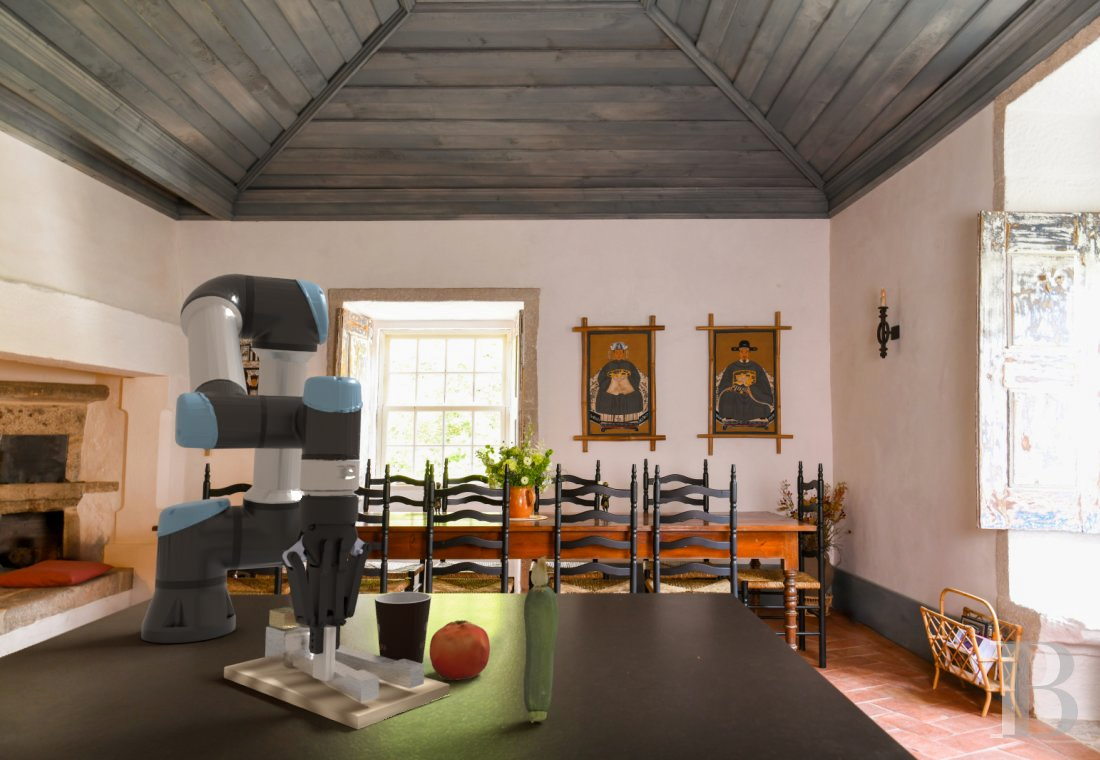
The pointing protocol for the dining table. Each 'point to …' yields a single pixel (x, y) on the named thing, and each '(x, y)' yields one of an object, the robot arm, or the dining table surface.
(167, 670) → the dining table surface
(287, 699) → the board
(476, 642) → the tomato
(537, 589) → the vegetable
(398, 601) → the coffee mug
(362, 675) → the tong arm
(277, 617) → the tab
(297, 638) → the base
